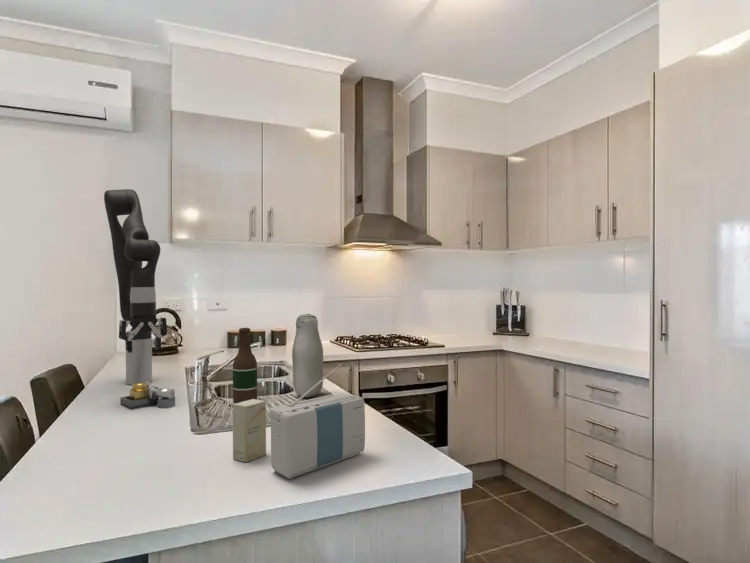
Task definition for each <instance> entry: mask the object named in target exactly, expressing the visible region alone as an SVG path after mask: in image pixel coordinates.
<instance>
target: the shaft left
mask: <svg viewBox="0 0 750 563" xmlns="http://www.w3.org/2000/svg"><path fill="white" fill-rule="evenodd" d="M143 382H146V388H147V389H150V388H151V384H152V383H151V382H149V381H147V380H146V381H143Z"/></svg>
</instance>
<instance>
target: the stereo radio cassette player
mask: <svg viewBox="0 0 750 563" xmlns="http://www.w3.org/2000/svg"><path fill="white" fill-rule="evenodd" d="M341 366H342V364H341V363H339V364H338V366H336V368H334V369H333V370H332V371H331V372H329V373H327V375H325V376H323V379H322V380H320V381H319V382H318V383H317V384H315V385H314V386H313V387H312V388H311V389H309V390H308V391H307V392H306V393H305V394H304V395H302V396H300V397H299V398H297V399H296V400H295V401H294V402H291V403H288V404H283V405H279V406H274V407H270V408H269V413H268V415H269V419H270V463H271V464H270V466H271V468H272V469H273V471H275V472H276V473H278V474H280V475H281V476H284V477H286V478H287V479H288V480H291V479H293V478H296V477H298V476H302V475H305V474H307V473H310V472H312V471H315V470H318V469H322V468H324V467H327V466H329V465H332V464H335V463H338V462H340V461H343V460H345V459H348V458H351V457H355V456H358V455H360V454H361V453H362V452H364V451H365V449H366V447H365V446H366V413H365V399H364V398H363V397H362V396H358V395H355V394H351V393H345V392H335V393H332V394H329V395H323V396H319V397H313V398H310V399H309V398H308V399H305V400H302V399H303V398H305V397H304V396H306V395H307V394H308V393H309V392H310V391H312V390H313V389H314V388H315V387H316V386H317V385H319V384H320V383H321V382H322V381H323V382H324V380H326V379H327V378H328V377H329V376H330V375H331V374H333V372H334V371H335V370H337V369H338V368H339V367H341Z"/></svg>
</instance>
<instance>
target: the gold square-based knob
mask: <svg viewBox="0 0 750 563" xmlns="http://www.w3.org/2000/svg"><path fill="white" fill-rule="evenodd" d="M149 390H150V388H149V389H147V388H146V382H137V383H133V385H132V389H129V396H130V400H131V401H134V400H140V399H146V398H149Z"/></svg>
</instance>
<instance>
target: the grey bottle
mask: <svg viewBox="0 0 750 563" xmlns="http://www.w3.org/2000/svg"><path fill="white" fill-rule="evenodd" d="M318 321H319V320H318V318H317V316H316V315H314V314H312V313H311V314H310V313H305V314H300V315H299V316H297V317H296V322H295V336H294V340H293V345H292V351H291V358H292V381H293V382H292V384H293V389H294V391H295V393H296V394H297V396H300V397H301V396H302V395H304V394H305V393H306V392H307V391H308V390H309V389H311V388H312V387H313V386H314V385H315V384H317V383H318V382H319V381H320V380H322V379H323V378H324V348H323V344H322V343H323V342H322V340H321V337H320V332H319V328H318V327H319V322H318ZM323 386H324V380H323V381H322V382H321V383H320V384H319V385H317V386H316V387H315V388H314V389H313V390H312V391H310V392H309V393H308V394H307V395H306V396H304V397H303V398H312V397H313V398H314V397H315V396H317V395H319V394H320V392H321V391H322V389H323Z"/></svg>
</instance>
